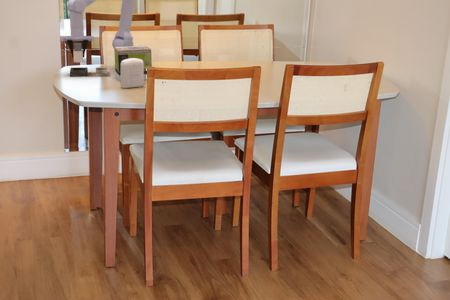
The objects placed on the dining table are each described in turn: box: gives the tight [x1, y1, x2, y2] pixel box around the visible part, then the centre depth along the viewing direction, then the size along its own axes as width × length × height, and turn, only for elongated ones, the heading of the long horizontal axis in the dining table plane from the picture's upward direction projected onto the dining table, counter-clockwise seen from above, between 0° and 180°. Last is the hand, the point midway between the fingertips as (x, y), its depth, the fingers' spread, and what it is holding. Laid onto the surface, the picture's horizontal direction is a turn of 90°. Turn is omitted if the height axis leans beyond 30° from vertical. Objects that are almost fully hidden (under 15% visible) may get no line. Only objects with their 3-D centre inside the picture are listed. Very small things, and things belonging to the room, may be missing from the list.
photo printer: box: [120, 58, 145, 89], centre depth 269 cm, size 10×4×12 cm, turn 123°
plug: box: [73, 42, 84, 63], centre depth 282 cm, size 4×4×8 cm
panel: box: [69, 66, 111, 78], centre depth 286 cm, size 18×9×4 cm, turn 101°
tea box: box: [113, 45, 153, 82], centre depth 280 cm, size 15×10×15 cm, turn 108°
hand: (78, 57), depth 283 cm, fingers closed on plug, 4 cm apart
